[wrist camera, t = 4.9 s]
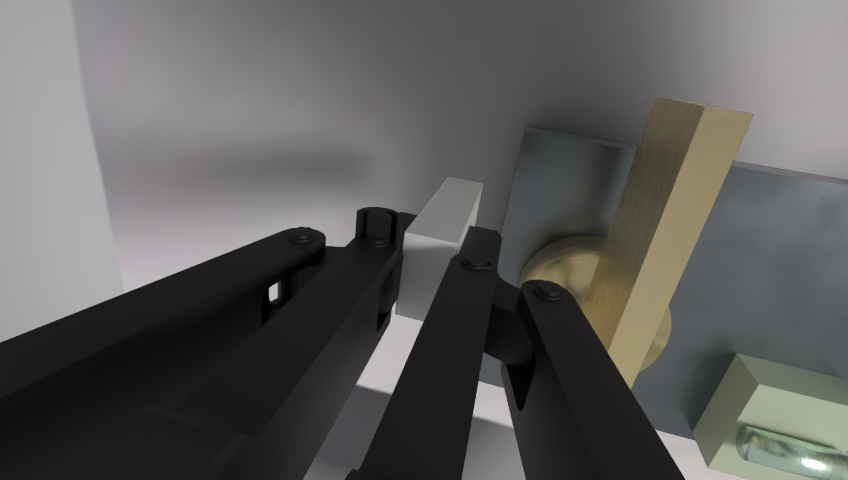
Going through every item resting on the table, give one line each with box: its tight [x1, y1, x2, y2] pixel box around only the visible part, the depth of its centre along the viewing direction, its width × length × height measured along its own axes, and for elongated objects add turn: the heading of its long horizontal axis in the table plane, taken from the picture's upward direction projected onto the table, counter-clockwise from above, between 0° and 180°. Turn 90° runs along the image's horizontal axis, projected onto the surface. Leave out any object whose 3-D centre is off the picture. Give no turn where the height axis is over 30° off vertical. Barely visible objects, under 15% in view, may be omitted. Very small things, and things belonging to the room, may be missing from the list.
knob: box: [518, 96, 754, 390], centre depth 17 cm, size 14×7×8 cm, turn 172°
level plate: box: [479, 126, 848, 480], centre depth 20 cm, size 32×16×6 cm, turn 82°
